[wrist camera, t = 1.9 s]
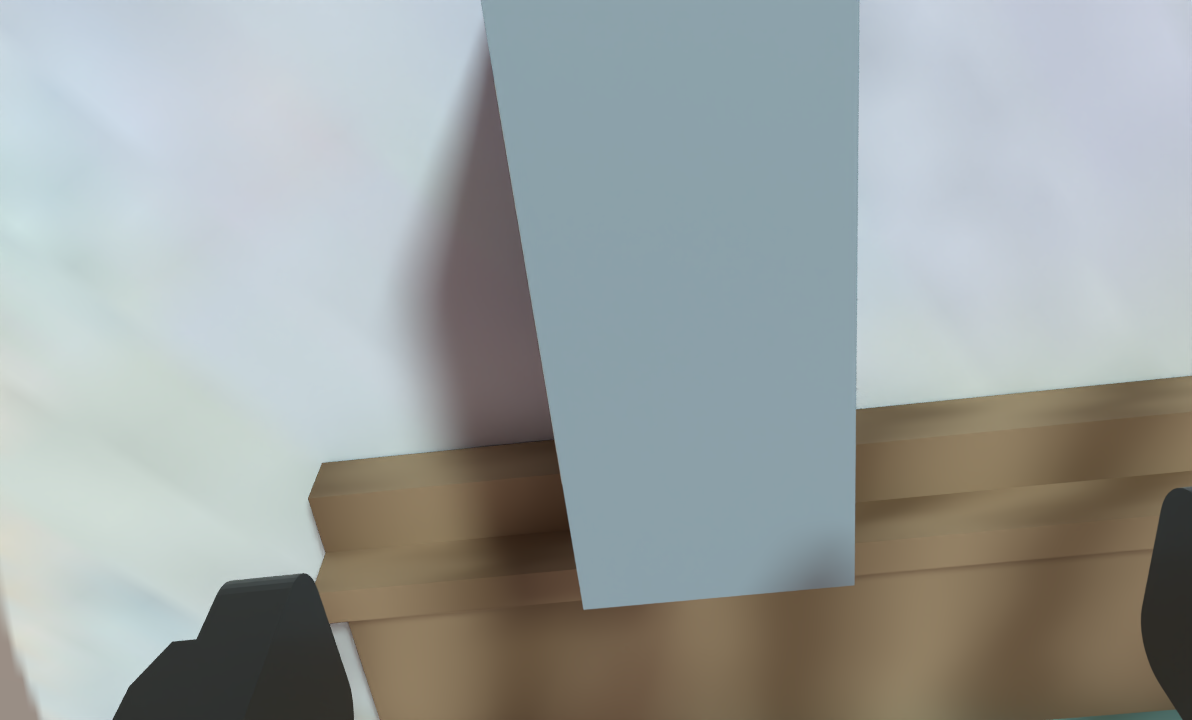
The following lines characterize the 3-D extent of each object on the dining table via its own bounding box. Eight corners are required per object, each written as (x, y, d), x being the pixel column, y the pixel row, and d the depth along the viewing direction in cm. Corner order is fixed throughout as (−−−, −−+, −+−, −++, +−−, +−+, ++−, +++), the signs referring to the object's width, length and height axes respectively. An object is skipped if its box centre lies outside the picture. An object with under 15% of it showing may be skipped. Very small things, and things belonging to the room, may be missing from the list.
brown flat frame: (1317, 363, 25) (1401, 431, 22) (1219, 725, 31) (1276, 811, 29) (322, 463, 26) (292, 538, 24) (423, 789, 33) (409, 877, 30)
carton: (764, -126, 20) (877, -66, 12) (779, 328, 25) (866, 584, 17) (513, -93, 20) (461, -13, 12) (578, 349, 25) (571, 610, 17)
